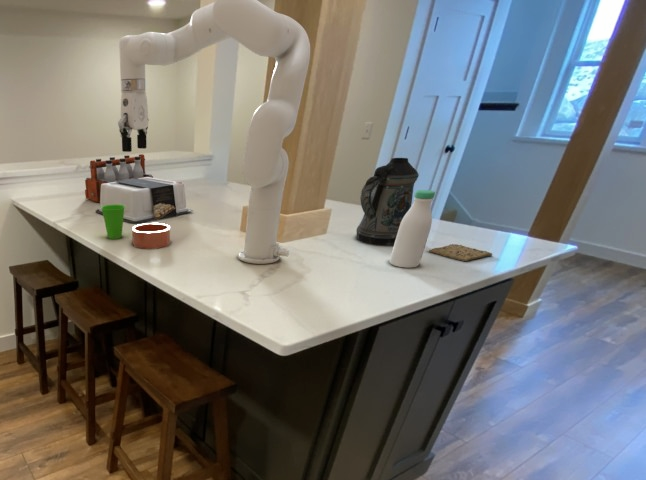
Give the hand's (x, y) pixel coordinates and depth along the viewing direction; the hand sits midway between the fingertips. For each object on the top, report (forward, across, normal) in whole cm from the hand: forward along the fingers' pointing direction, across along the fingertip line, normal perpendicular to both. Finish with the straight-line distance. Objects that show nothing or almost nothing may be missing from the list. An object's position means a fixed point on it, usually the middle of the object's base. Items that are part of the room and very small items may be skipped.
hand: (134, 149), depth 145 cm
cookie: (+29, +27, -99) cm, 107 cm away
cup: (+30, +4, +12) cm, 33 cm away
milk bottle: (+29, +10, -85) cm, 91 cm away
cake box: (+31, +46, +23) cm, 60 cm away
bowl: (+30, +1, -5) cm, 30 cm away
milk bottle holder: (+31, +73, +52) cm, 95 cm away
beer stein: (+29, +34, -76) cm, 89 cm away
